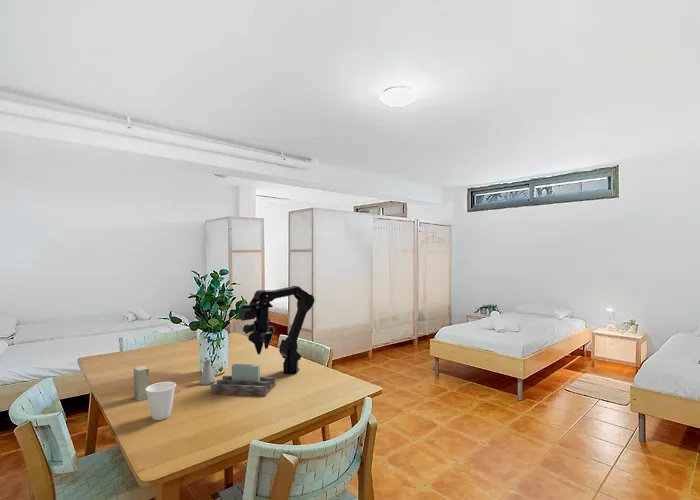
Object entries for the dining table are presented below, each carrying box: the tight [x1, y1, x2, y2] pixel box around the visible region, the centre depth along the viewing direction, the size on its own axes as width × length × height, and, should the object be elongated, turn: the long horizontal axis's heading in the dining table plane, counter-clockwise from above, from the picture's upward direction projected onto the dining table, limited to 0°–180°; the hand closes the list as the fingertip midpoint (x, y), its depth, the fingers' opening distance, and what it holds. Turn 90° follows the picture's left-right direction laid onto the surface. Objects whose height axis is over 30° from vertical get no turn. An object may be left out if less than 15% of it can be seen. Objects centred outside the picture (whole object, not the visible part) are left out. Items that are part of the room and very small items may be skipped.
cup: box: [145, 381, 177, 421], centre depth 132 cm, size 10×10×11 cm
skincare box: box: [133, 365, 151, 402], centre depth 149 cm, size 6×4×12 cm
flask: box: [198, 359, 217, 386], centre depth 166 cm, size 7×7×10 cm
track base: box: [210, 375, 276, 397], centre depth 157 cm, size 24×12×4 cm, turn 83°
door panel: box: [231, 363, 261, 381], centre depth 160 cm, size 12×2×8 cm, turn 83°
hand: (262, 351), depth 168 cm, fingers open, 9 cm apart
